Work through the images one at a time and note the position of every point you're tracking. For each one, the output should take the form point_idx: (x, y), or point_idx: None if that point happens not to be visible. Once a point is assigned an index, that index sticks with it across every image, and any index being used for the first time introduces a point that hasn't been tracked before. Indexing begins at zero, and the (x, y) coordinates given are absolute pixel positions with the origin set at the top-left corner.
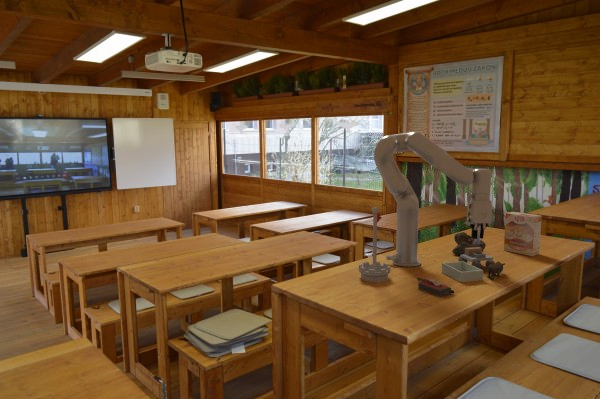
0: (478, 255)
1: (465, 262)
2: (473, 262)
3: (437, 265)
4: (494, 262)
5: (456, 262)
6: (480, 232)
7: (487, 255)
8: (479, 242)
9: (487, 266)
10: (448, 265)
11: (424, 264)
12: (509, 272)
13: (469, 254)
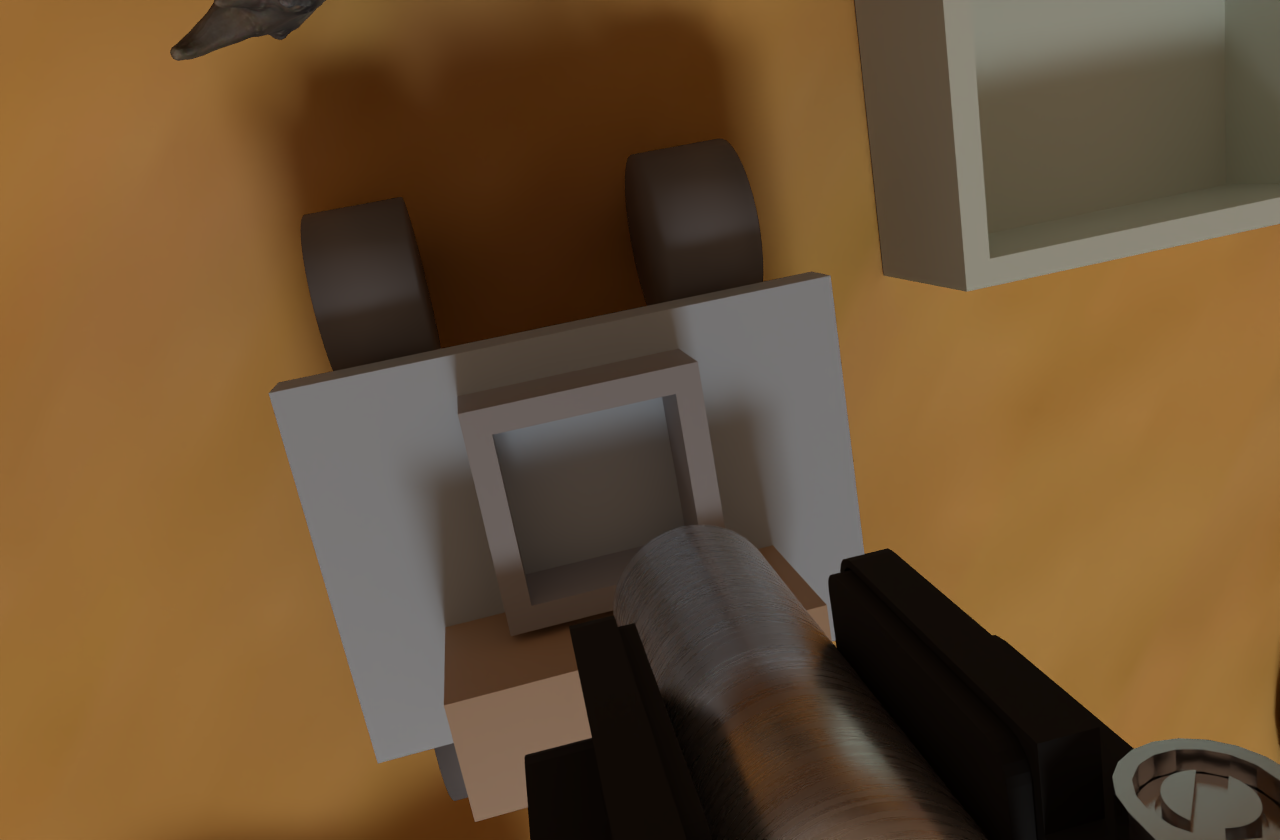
0: (651, 366)
1: (962, 193)
2: (758, 266)
3: (1113, 562)
4: (303, 246)
5: (1105, 233)
6: (737, 792)
7: (335, 561)
8: (660, 572)
9: (429, 311)
10: (1221, 201)
11: (1253, 615)
12: (69, 50)
13: None
